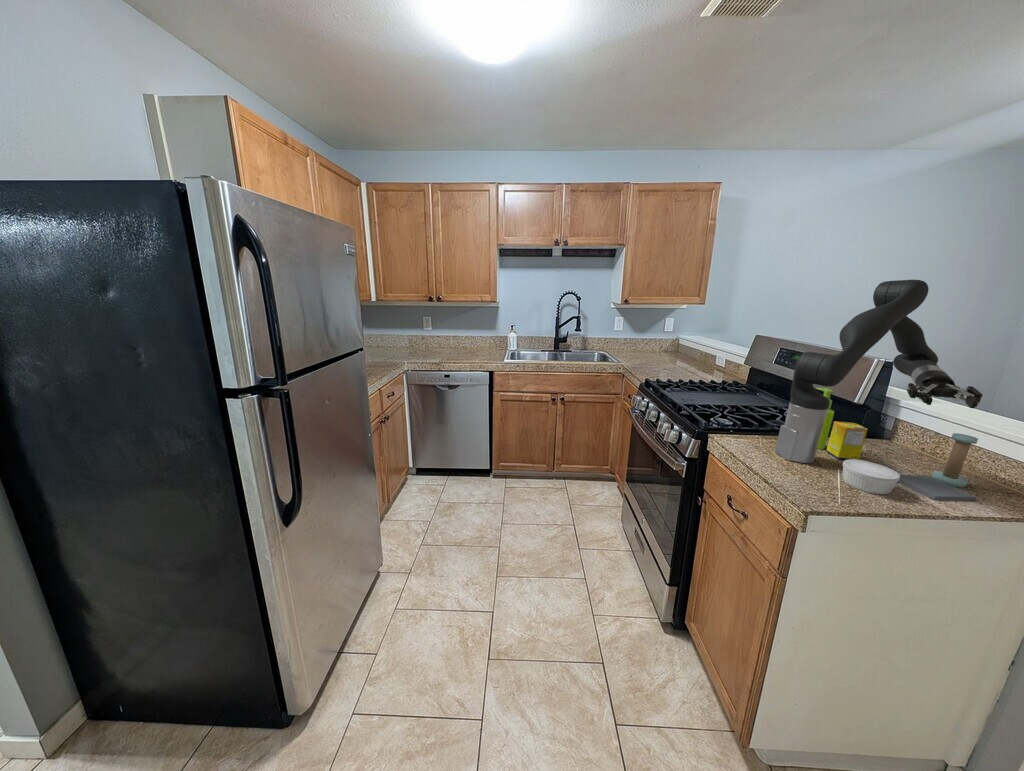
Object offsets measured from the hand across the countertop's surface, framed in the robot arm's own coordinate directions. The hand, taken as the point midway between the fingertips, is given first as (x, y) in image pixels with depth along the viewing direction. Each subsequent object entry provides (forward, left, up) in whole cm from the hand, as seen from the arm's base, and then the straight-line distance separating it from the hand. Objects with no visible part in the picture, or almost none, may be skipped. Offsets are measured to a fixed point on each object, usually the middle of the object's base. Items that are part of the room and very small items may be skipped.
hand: (951, 403), depth 104 cm
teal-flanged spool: (-4, -8, -21) cm, 22 cm away
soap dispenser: (-23, +16, -21) cm, 35 cm away
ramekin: (-31, -11, -21) cm, 39 cm away
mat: (-14, -12, -21) cm, 28 cm away
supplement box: (-21, +7, -21) cm, 30 cm away
